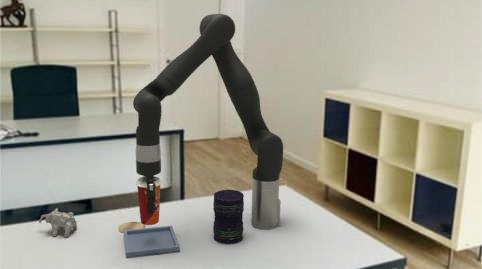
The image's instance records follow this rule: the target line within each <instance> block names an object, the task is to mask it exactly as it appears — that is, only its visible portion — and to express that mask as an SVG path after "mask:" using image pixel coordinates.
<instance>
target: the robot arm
mask: <svg viewBox="0 0 482 269" xmlns="http://www.w3.org/2000/svg"><path fill="white" fill-rule="evenodd" d="M235 33H236V25H235V22H234V20H233V19H232V18H231V16H229V15H227V14H225V13H213V14H212V13H211V14H207V15H204V17H203V18H202V19H201V21H200V23H199V37H198V38H197V39H196V40H195V41H194V42H193V43H192V44H191V45H190V46H189V47H188V48H187V49H185V50H184V51H183V52H181V53H180V54H179V55H178V56H176V57H175V58H174V59H172V60H171V62H169V63H168V64H167V65H166V67H164V69H163V70H161V72H160V73H159V74H158V75H157V76H156V77H155V78H154V79H153V80H151V82H149V83H148V84H146V85H145V86H144V87H142V88H141V89H140V90H139V92H137V94H136V95H135V96H134V98H133V102H132V106H133V108H134V110H135V111H136V113H137V117H138V118H137V119H138V120H137V121H138V123H137V124H138V125H137V126H136V128H135V144H136V146H135V167H136V168H135V170H136V174H137V175H138V176H141V177H144V176H145V178H142V179H145V180H143V182H144V181H146V187H147V192H146V191H145V195H146V197H147V200H146V201H147V213H148V214H154V213H155V202H156V188H155V186H156V185H155V183H154V181H156V179H154V178H155V177H154V176H156V175H160V174H161V172H162V151H161V140H160V137H161V136H160V126H161V121H162V120H161V119H162V112H163V111H162V110H163V109H162V103H161V102H162V101H163V100H164V99H166V97H169V96H173V94H175V93H176V92H177V90H179V88H181V86H182V85H183V84H184V83H185V82H186V81H187V80H188V79H189V77H190V76H191V75H192V74H193V73H195V71H196V70H197V69H198V68H199V67H200V66H201V65H202V64H203V63H204V62H205V61H207V60H208V59H209V58H210V57H212V58H213V59H214V63H215V65H216V67H217V69H218V72H219V75H220V77H221V79H222V82H223V84H224V87H225V89H226V92H227V94H228V97H229V99H230V101H231V103H232V105H233V107H234V109H235V112H236V113H237V115H238V117H239V119H240V121H241V123H242V126H243V128H244V131H245V134H246V137H247V141H248V144H249V147H250V149H251V151H252V152H253V154H254V155H255V156H257V163H256V167H255V168H253V170H252V177H251V178H252V180H251V182H252V183H251V185H252V187H251V226H252V227H253V228H256V229H258V230H271V229H272V230H273V229H275V228H277V227H280V226H281V225H280V224H281V223H280V222H281V199H280V197H279V196H280V195H279V194H280V193H279V192H280V174H281V172H282V168H283V159H284V143H283V140H282V139H281V137H280V136H279V135H277V134H276V133H273V132H271V130H269V127H268V126H267V124H266V122H265V120H264V117H263V116H262V111H261V101H260V100H261V98H260V95H259V91H258V88H257V86H256V83H255V81H254V78H253V76H252V75H251V72H250V71H249V69H248V68H247V67H246V66H245V64H244V63H243V62H242V60H241V59H240V58H239V56H238V55H237V53H236V52H235V49H234V47H233V45H232V41H231V40H232V39H233V38H234V36H235ZM150 195H153V198H149V196H150Z"/></svg>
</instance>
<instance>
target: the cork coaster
mask: <svg viewBox="0 0 482 269" xmlns="http://www.w3.org/2000/svg"><path fill="white" fill-rule="evenodd" d="M143 228H146V225H144V224H142V223H141V221H129V222H128V221H127V222H123V223H122V224H119V226H118V228H117V229H118V232H119V233H121V234H124V231H123V230H133V229H143Z"/></svg>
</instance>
